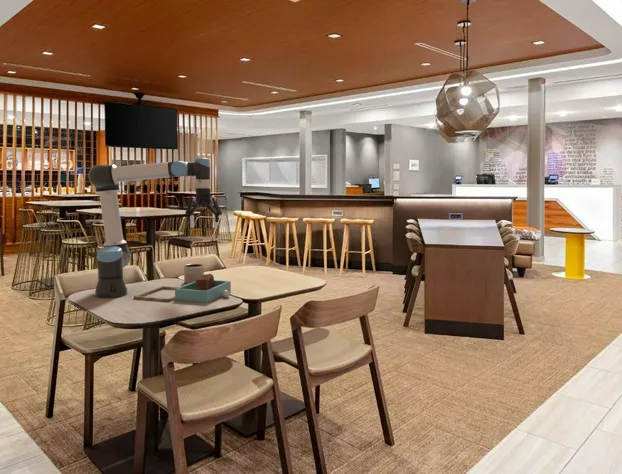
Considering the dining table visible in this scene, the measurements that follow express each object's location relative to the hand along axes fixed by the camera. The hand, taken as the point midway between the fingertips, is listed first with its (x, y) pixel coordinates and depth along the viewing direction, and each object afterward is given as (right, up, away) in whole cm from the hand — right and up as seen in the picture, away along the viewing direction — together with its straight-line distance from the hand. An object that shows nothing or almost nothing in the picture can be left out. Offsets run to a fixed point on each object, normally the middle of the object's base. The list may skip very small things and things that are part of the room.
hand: (203, 228), depth 278 cm
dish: (+3, -34, -16) cm, 38 cm away
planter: (-9, -30, +17) cm, 36 cm away
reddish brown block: (+4, -33, -14) cm, 36 cm away
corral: (-16, -34, -14) cm, 40 cm away
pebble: (+15, -34, -19) cm, 42 cm away
